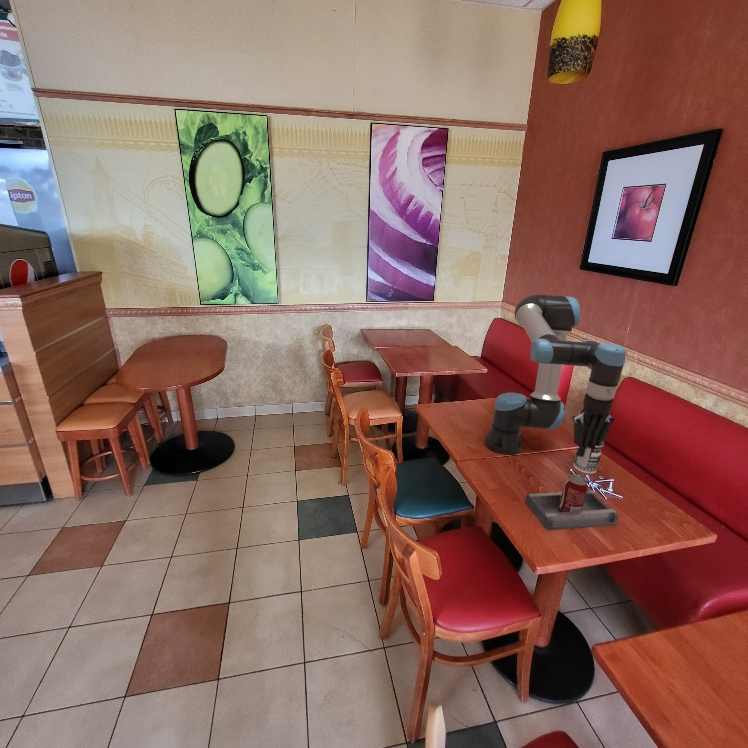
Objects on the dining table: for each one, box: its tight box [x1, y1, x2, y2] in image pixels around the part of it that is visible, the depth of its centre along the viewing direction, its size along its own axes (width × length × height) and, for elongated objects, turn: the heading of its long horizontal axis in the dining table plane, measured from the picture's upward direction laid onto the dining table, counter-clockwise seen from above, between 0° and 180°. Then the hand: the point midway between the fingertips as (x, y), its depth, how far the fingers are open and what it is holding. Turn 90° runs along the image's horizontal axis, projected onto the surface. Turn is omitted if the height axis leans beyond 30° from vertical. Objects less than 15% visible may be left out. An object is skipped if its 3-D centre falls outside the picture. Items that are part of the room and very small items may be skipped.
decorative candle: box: [572, 414, 611, 474], centre depth 156 cm, size 9×9×25 cm
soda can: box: [559, 474, 589, 512], centre depth 131 cm, size 7×7×12 cm
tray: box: [524, 489, 620, 531], centre depth 133 cm, size 14×24×4 cm, turn 99°
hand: (581, 464), depth 127 cm, fingers closed
